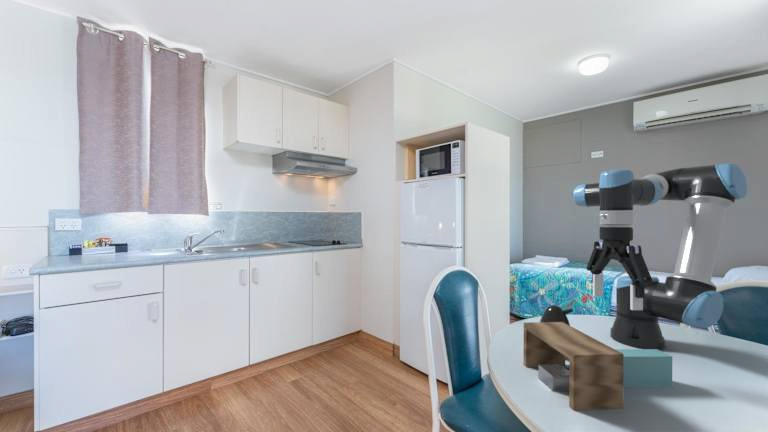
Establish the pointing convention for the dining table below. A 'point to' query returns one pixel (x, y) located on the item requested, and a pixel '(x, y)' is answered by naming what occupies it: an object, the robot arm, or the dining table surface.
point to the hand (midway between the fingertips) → (615, 302)
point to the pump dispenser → (555, 314)
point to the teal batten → (646, 368)
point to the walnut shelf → (577, 363)
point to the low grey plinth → (554, 376)
